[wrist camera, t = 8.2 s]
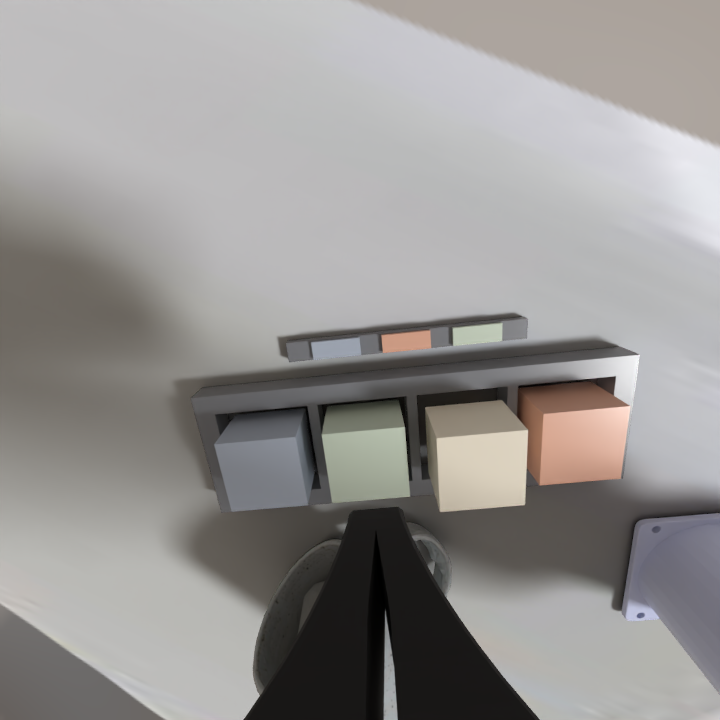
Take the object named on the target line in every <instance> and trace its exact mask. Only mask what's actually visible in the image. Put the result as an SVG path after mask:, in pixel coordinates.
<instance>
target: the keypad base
mask: <svg viewBox="0 0 720 720" xmlns="http://www.w3.org/2000/svg"><path fill="white" fill-rule="evenodd" d="M639 357H640V355H639V354H637V353H634V352H632V351H630V350H627V349H625V348H622V347H611V348H601V349H591V350H581V351H571V352H560V353H550V354H540V355H530V356H520V357H509V358H499V359H489V360H479V361H469V362H459V363H448V364H438V365H428V366H418V367H408V368H397V369H387V370H377V371H367V372H357V373H347V374H336V375H326V376H316V377H306V378H296V379H285V380H275V381H265V382H255V383H245V384H235V385H224V386H214V387H204V388H201V389H200V390H199V391H198V392H197V393H196V394H195V395H194V396H193V397H192V398H191V402H192V405H193V409H194V413H195V416H196V420H197V424H198V427H199V431H200V435H201V439H202V442H203V446H204V450H205V453H206V457H207V461H208V464H209V468H210V472H211V475H212V479H213V483H214V486H215V490H216V494H217V497H218V501H219V505H220V508H221V512H222V513H223V512H232V511H231V507H230V503H229V499H228V496H227V492H226V488H225V484H224V480H223V476H222V473H221V469H220V465H219V461H218V457H217V453H216V450H215V446H214V444H215V443H216V441H217V440H218V438H219V437H220V436H221V434H222V433H223V431H224V430H225V429H226V427H227V426H228V424H229V419H228V415H227V413H236V412H246V411H257V410H267V409H278V408H288V407H299V406H307V407H308V413H309V419H310V425H311V431H312V437H313V443H314V449H315V456H316V462H317V468H318V474H314V478H313V483H312V488H311V493H310V498H309V503H308V505H316V504H328V503H332V498H331V492H330V485H329V479H328V473H327V466H326V460H325V453H324V447H323V440H322V430H323V425H324V416H323V410H322V404H330V403H341V402H351V401H362V400H372V399H383V398H393V397H404V400H405V413H406V427H407V440H408V454H409V466H408V475H409V489H410V496H421V495H433V494H435V493H434V490H433V486H432V483H431V479H430V476H429V472H428V464H422V465H421V458H420V442H419V426H418V410H417V395H424V394H435V393H445V392H456V391H466V390H477V389H487V388H498V396H497V400H502V401H503V402H504V403H505V404H506V405H507V406H508V408H509V409H510V410H511V411H512V412H513V413H514V414H515V415H516V417H517V402H518V386H519V385H529V384H540V383H550V382H561V381H571V380H582V379H592V378H597V386H599V387H601V388H602V389H604V390H605V391H607V392H609V393H610V394H612V395H614V396H615V397H617V398H618V399H620V400H622V401H623V402H625V403H626V404H628V405H630V414H629V421H628V428H627V436H626V443H625V450H624V458H623V465H622V472H621V478H623V473H624V466H625V459H626V451H627V444H628V437H629V430H630V422H631V415H632V408H633V401H634V393H635V386H636V379H637V372H638V364H639ZM538 485H539V484H538V483H537V481H536V480H535V478H534V477H533V476H532V474H531V473H530V472H529V470H528V469H527V470H526V486H538Z"/></svg>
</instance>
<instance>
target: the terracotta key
mask: <svg viewBox="0 0 720 720" xmlns="http://www.w3.org/2000/svg"><path fill="white" fill-rule="evenodd" d="M629 414H630V405H628V404H626V403H625V402H623V401H622V400H620V399H618V398H617V397H615V396H614V395H612V394H610V393H609V392H607V391H605V390H604V389H602V388H601V387H599V386H597V385H596V384H594V383H592V382H591V381H587V382H576V383H566V384H555V385H545V386H534V387H524V388H518V402H517V418H518V419H519V420H520V421H521V422H522V423H523V425H524V426H525V427H526V428H527V429H528V446H527V469H528V470H529V472H530V473H531V474H532V476H533V477H534V478H535V480H536V481H537V483H538V484H539V485H551V484H563V483H575V482H587V481H598V480H610V479H621V472H622V465H623V458H624V450H625V443H626V436H627V428H628V421H629Z"/></svg>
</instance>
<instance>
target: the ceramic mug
mask: <svg viewBox="0 0 720 720" xmlns="http://www.w3.org/2000/svg"><path fill="white" fill-rule="evenodd" d="M406 523H407V526H408V528H409V531H410V533H411V535H412V537H413V539H414V541H417V540H421V541H422V542H423V543H424V545H425V546H426V547H427V549H428V551H429V554H430V558H431V559H432V560H434V561H435V570H434V574H433V577H434V579H435V580H436V582H437V584H438V585H439V587H440V589H441V590H442V592H443V593H444V595H445V597H447V594H448V592H449V589H450V586H451V578H452V570H451V562H450V559H449V557H448V554H447V552H446V551H445V549H444V547H443V546H442V544H441V543H440V542H439V541H438V540H437V539H436V538H435V537H434V536H433V535H432V534H431V533H430V532H429V531H428V530H427V529H425V528H424V527H422V526H421V525H418V524H415V523H410V522H406ZM341 541H342V540H338V539H335V540H328V541H325V542H322V543H320V544H319V545H317V546H315V547H314V548H312V549H311V550H310V551H308V552H307V553H306V554H304V556H303V557H301V558H300V559H299V560H298V562H297V563H296V564H295V565H294V566H293V567H292V568H291V569H290V570H289V572H288V574H287V575H286V577H285V578H284V579H283V581H282V582H281V584H280V585H279V587H278V589H277V590H276V592H275V594H274V595H273V597H272V599H271V602H270V604H269V606H268V609H267V611H266V613H265V615H264V618H263V621H262V624H261V627H260V630H259V633H258V637H257V640H256V646H255V652H254V662H253V677H254V681H255V685H256V688H257V691H258V693H259V695H261V694H262V692H263V690H264V689H265V687H266V686H267V684H268V683H269V681H270V680H271V678H272V676H273V675H274V673H275V672H276V670H277V669H278V667H279V665H280V664H281V662H282V661H283V659H284V657H285V656H286V654H287V652H288V651H289V649H290V647H291V645H292V644H293V642H294V640H295V639H296V637H297V635H298V633H299V631H300V630H301V628H302V626H303V624H304V622H305V620H306V619H307V617H308V615H309V613H310V611H311V609H312V607H313V605H314V603H315V601H316V599H317V597H318V595H319V593H320V591H321V589H322V587H323V584H324V582H325V580H326V578H327V576H328V573H329V571H330V568H331V566H332V564H333V561H334V559H335V557H336V554H337V552H338V549H339V546H340V544H341ZM384 720H398V717H397V702H396V687H395V672H394V664H393V657H392V650H391V644H390V637H389V631H388V624H387V618H386V611H385V667H384Z"/></svg>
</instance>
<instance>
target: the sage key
mask: <svg viewBox="0 0 720 720" xmlns="http://www.w3.org/2000/svg"><path fill="white" fill-rule="evenodd" d="M322 440H323V447H324V453H325V460H326V466H327V473H328V479H329V485H330V492H331V498H332V503H342V502H353V501H365V500H377V499H388V498H400V497H410V489H409V475H408V462H407V449H406V436H405V425H404V421H403V417H402V413H401V408H400V404H399V400H388V401H377V402H367V403H356V404H346V405H335V406H327V410H326V415H325V420H324V425H323V430H322Z"/></svg>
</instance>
